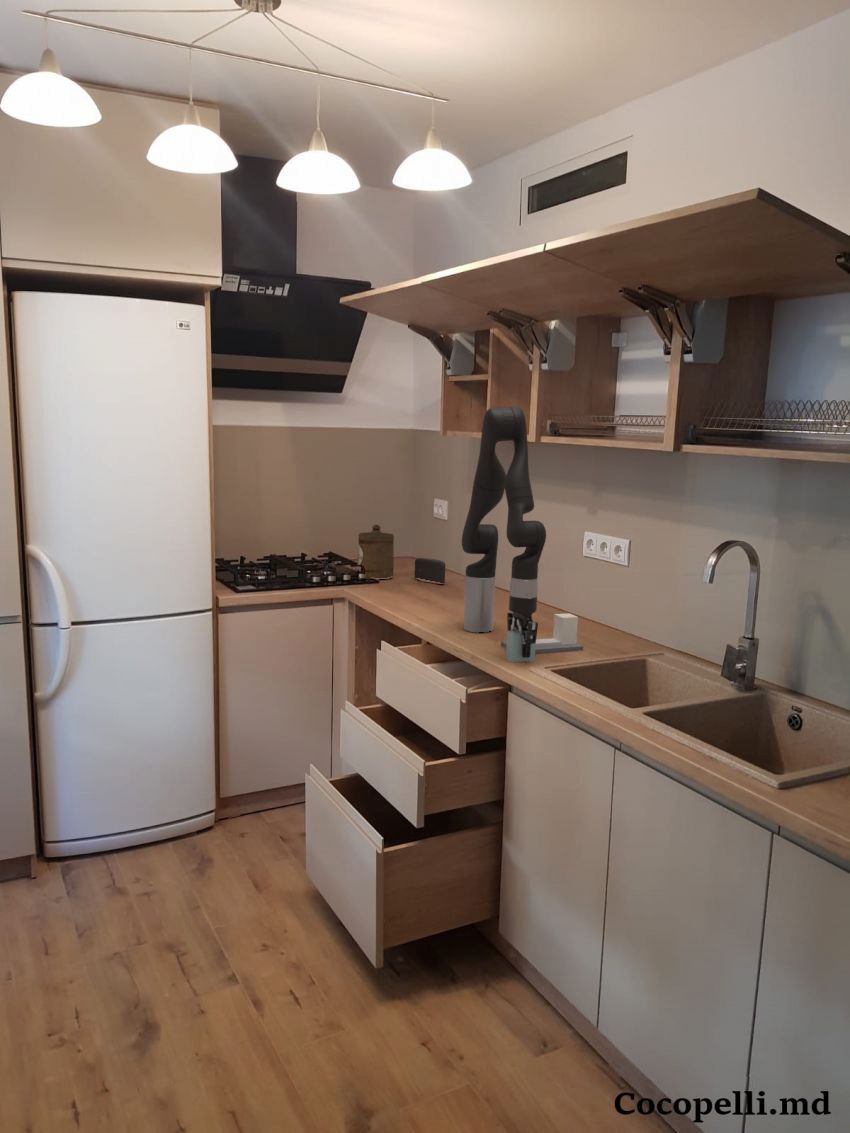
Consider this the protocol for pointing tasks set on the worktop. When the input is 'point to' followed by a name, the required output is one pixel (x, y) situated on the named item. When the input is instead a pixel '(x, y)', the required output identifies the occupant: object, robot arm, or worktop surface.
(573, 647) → the board
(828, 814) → the worktop surface
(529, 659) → the block
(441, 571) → the upright dark grey panel
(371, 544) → the wooden container
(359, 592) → the worktop surface
